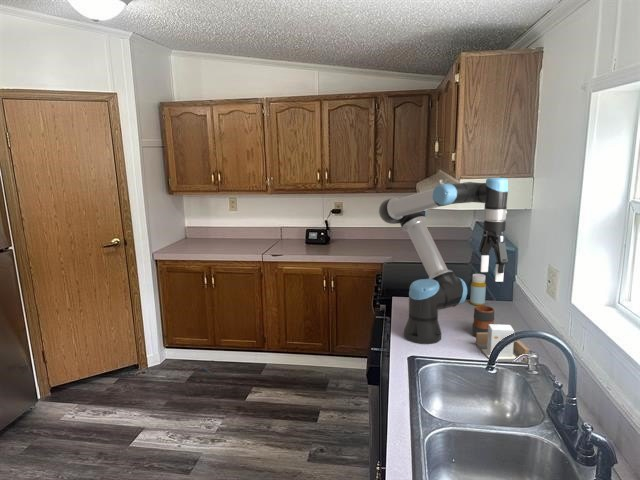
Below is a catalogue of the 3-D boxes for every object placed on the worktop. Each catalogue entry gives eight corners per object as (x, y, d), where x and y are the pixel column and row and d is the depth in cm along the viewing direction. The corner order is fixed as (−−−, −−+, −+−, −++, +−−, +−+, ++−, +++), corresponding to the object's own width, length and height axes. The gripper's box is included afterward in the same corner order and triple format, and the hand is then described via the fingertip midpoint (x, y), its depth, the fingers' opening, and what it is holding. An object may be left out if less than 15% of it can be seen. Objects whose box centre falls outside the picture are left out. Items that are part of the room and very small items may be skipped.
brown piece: (492, 363, 153) (493, 350, 152) (475, 344, 168) (476, 332, 167) (528, 362, 153) (529, 349, 152) (508, 343, 168) (509, 332, 168)
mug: (494, 330, 182) (496, 304, 180) (493, 340, 172) (495, 313, 170) (473, 327, 186) (474, 301, 184) (471, 337, 175) (472, 310, 173)
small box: (508, 351, 161) (510, 324, 159) (513, 357, 155) (515, 330, 153) (486, 349, 162) (488, 323, 160) (489, 356, 156) (491, 329, 155)
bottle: (483, 307, 212) (484, 277, 209) (468, 304, 215) (470, 275, 212) (486, 303, 217) (487, 274, 215) (471, 300, 221) (473, 272, 218)
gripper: (521, 225, 144) (516, 285, 148) (491, 215, 168) (487, 268, 172) (499, 225, 144) (495, 285, 147) (472, 216, 168) (469, 268, 172)
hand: (491, 276), depth 160 cm, fingers open, 13 cm apart
